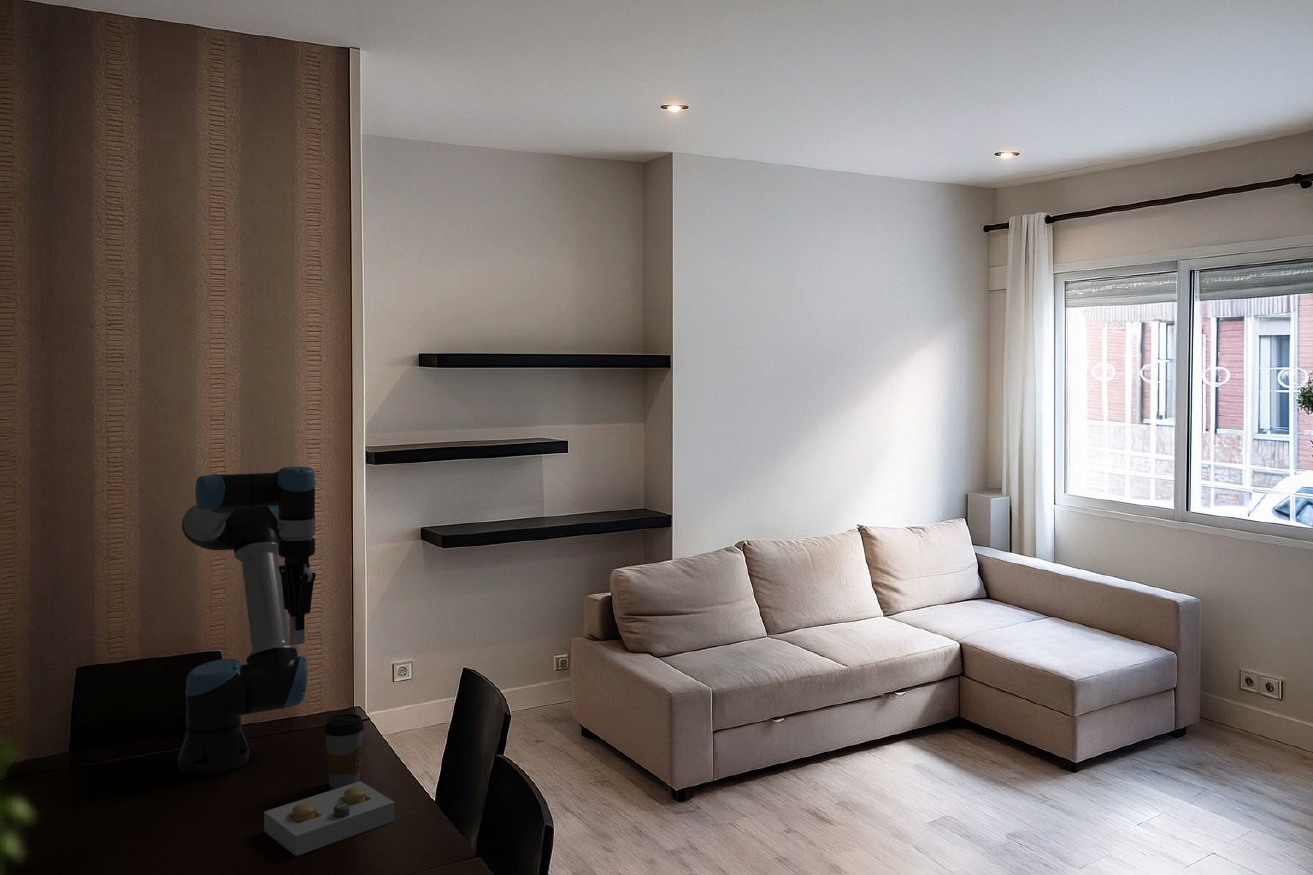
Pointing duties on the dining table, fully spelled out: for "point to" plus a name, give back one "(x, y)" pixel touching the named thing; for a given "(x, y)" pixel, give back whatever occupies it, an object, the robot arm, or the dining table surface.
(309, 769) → the dining table surface
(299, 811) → the knob
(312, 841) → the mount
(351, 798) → the knob
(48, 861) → the dining table surface
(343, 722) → the coffee cup
